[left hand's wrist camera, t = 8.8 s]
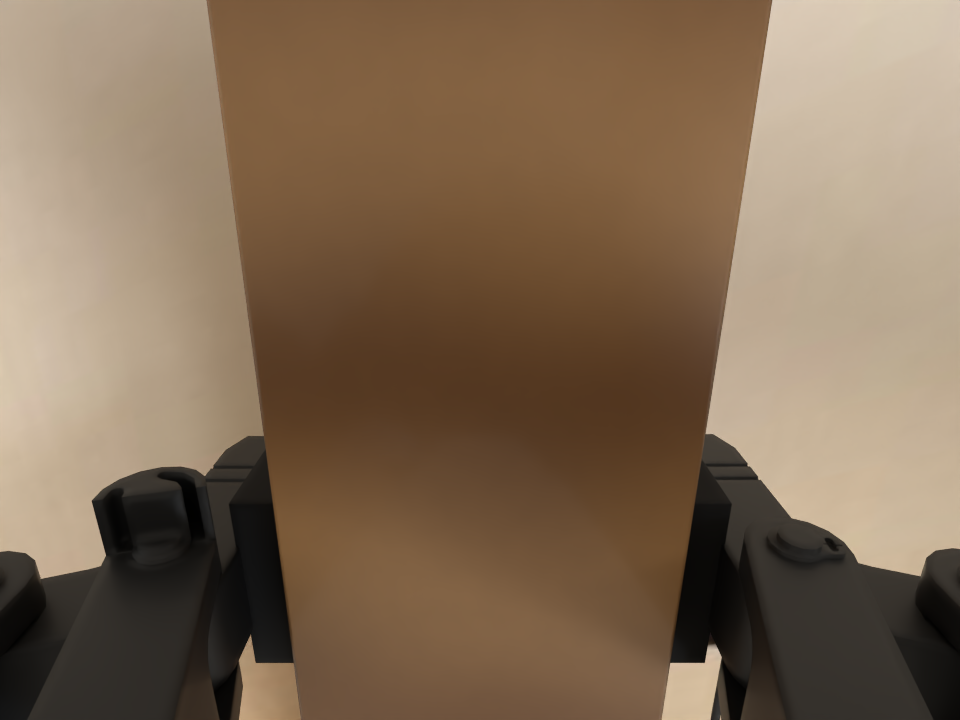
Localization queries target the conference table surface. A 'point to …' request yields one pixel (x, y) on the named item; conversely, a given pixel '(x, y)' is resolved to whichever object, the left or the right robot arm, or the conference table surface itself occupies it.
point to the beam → (485, 333)
